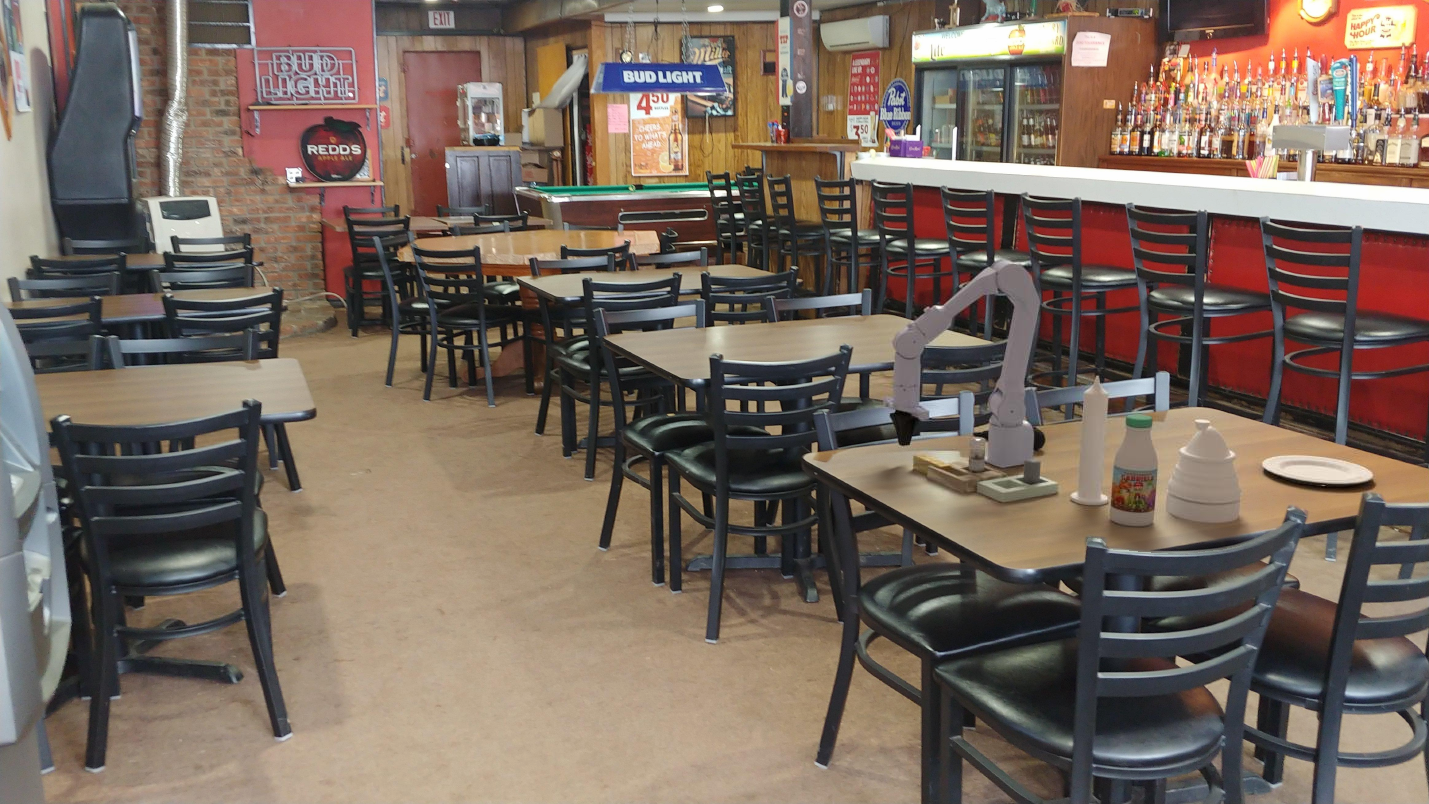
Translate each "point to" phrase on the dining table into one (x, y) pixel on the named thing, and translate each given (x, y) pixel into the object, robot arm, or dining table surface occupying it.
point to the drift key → (928, 463)
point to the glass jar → (976, 455)
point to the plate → (1317, 470)
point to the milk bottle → (1135, 475)
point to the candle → (1092, 447)
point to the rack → (1019, 484)
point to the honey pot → (1205, 479)
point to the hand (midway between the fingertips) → (904, 444)
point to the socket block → (963, 476)
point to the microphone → (1038, 437)
